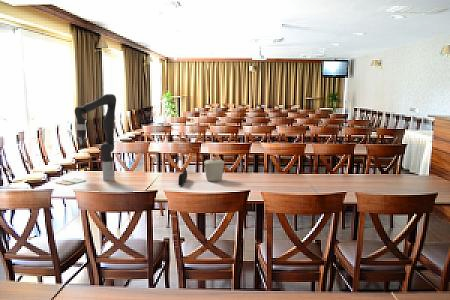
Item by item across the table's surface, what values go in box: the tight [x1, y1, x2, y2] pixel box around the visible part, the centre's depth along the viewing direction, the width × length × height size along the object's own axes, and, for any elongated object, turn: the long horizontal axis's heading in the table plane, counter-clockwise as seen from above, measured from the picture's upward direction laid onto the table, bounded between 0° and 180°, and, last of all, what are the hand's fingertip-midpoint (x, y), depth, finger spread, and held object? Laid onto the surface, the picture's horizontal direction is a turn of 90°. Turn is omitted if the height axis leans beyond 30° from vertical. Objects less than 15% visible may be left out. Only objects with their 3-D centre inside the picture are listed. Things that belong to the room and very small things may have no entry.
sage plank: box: [65, 177, 87, 184], centre depth 351 cm, size 16×10×2 cm, turn 56°
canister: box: [203, 156, 226, 183], centre depth 358 cm, size 18×18×21 cm
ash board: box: [55, 179, 77, 186], centre depth 343 cm, size 16×8×2 cm, turn 56°
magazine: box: [177, 167, 188, 186], centre depth 348 cm, size 17×3×30 cm
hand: (82, 148), depth 364 cm, fingers closed
